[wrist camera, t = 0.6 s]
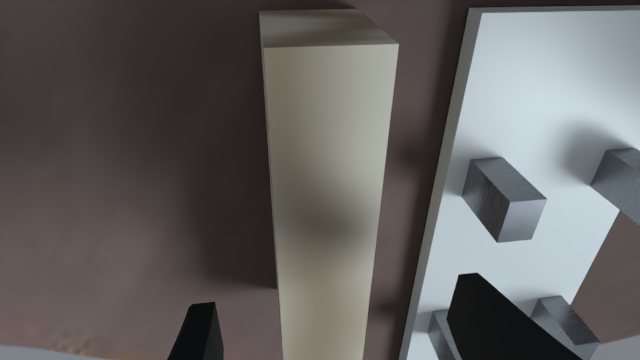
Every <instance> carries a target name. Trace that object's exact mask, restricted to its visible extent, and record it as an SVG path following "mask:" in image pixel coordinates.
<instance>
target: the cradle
mask: <svg viewBox="0 0 640 360" xmlns="http://www.w3.org/2000/svg"><path fill="white" fill-rule="evenodd" d="M619 210H621V211H622V212H623V213H624V214H626V215H627V216H628V217H629V218H631V219H632V220H633V221H635V222H636V223H637V224H638V225H640V5H614V6H549V7H484V8H469V12H468V17H467V22H466V27H465V32H464V37H463V42H462V47H461V51H460V56H459V61H458V66H457V71H456V76H455V81H454V86H453V91H452V96H451V101H450V106H449V111H448V116H447V121H446V126H445V131H444V136H443V141H442V146H441V151H440V156H439V161H438V166H437V171H436V176H435V181H434V186H433V191H432V196H431V201H430V206H429V211H428V216H427V221H426V226H425V231H424V236H423V241H422V246H421V251H420V256H419V261H418V266H417V271H416V276H415V281H414V286H413V291H412V296H411V301H410V306H409V311H408V316H407V321H406V326H405V331H404V336H403V341H402V346H401V351H400V356H399V360H462V359H461V357H460V355H459V353H458V350H457V348H456V345H455V342H454V340H453V337H452V334H451V331H450V328H449V326H448V323H447V320H446V318H447V314H448V311H449V307H450V303H451V300H452V296H453V293H454V289H455V286H456V282H457V279H458V275H459V274H468V273H477V272H478V273H479V274H480V275H481V276H482V277H484V278H485V279H486V280H487V281H488V282H489V283H490V284H492V285H493V286H494V287H495V288H496V289H497V290H498V291H500V292H501V293H502V294H503V295H504V296H505V297H506V298H508V299H509V300H510V301H511V302H512V303H513V304H514V305H516V306H517V307H518V308H519V309H520V310H521V311H523V312H524V313H525V314H526V315H527V316H528V317H530V318H531V319H532V320H533V321H534V322H536V323H537V324H538V325H539V326H540V327H542V328H543V329H544V330H545V331H546V332H548V333H549V334H550V335H551V336H553V337H554V338H555V339H556V340H558V341H559V342H560V343H562V344H563V345H564V346H566V347H567V348H568V349H569V350H571V351H572V352H573V353H575V354H576V355H577V356H579V357H580V358H581V359H583V360H589V359H590V358H591V356H592V354H593V353H594V352H595V350H596V348H597V347H598V345H599V344H600V341H599V340H598V339H597V337H596V336H595V335H594V334H593V333H592V331H591V330H590V329H589V328H588V327H587V325H586V324H585V323H584V322H583V321H582V319H581V318H580V317H579V316H578V315H577V313H576V312H575V311H574V310H573V309H572V307H571V306H570V304H571V302H572V300H573V298H574V296H575V294H576V293H577V291H578V289H579V287H580V285H581V283H582V281H583V279H584V277H585V275H586V273H587V272H588V270H589V268H590V266H591V264H592V262H593V260H594V258H595V256H596V254H597V252H598V251H599V249H600V247H601V245H602V243H603V241H604V239H605V237H606V235H607V233H608V231H609V230H610V228H611V226H612V224H613V222H614V220H615V218H616V216H617V214H618V212H619Z"/></svg>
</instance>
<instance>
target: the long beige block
mask: <svg viewBox="0 0 640 360" xmlns="http://www.w3.org/2000/svg"><path fill="white" fill-rule="evenodd" d="M259 22H260V37H261V52H262V67H263V82H264V97H265V112H266V126H267V141H268V156H269V171H270V186H271V201H272V216H273V231H274V246H275V260H276V275H277V290H278V302H279V315H280V327H281V339H282V351H283V360H362V359H363V351H364V342H365V333H366V325H367V316H368V307H369V299H370V290H371V281H372V273H373V264H374V255H375V247H376V238H377V229H378V221H379V212H380V203H381V195H382V186H383V177H384V169H385V160H386V152H387V143H388V134H389V126H390V117H391V108H392V100H393V91H394V82H395V74H396V65H397V56H398V48H399V44H398V43H397V42H396V41H395V40H394V39H392V38H391V37H390V36H389V35H388V34H386V33H385V32H384V31H383V30H382V29H380V28H379V27H378V26H377V25H376V24H374V23H373V22H372V21H371V20H370V19H369V18H367V17H366V16H365V15H364V14H363V13H361V12H360V11H359V10H358V9H324V10H267V11H259Z"/></svg>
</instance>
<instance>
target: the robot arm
mask: <svg viewBox="0 0 640 360" xmlns="http://www.w3.org/2000/svg"><path fill="white" fill-rule="evenodd" d="M446 320H447V323H448V326H449V328H450V331H451V334H452V337H453V340H454V342H455V345H456V348H457V350H458V353H459V355H460V357H461V359H462V360H583V359H581V358H580V357H579V356H577V355H576V354H575V353H573V352H572V351H571V350H569V349H568V348H567V347H566V346H564V345H563V344H562V343H560V342H559V341H558V340H556V339H555V338H554V337H553V336H551V335H550V334H549V333H548V332H546V331H545V330H544V329H543V328H542V327H540V326H539V325H538V324H537V323H536V322H534V321H533V320H532V319H531V318H530V317H528V316H527V315H526V314H525V313H524V312H523V311H521V310H520V309H519V308H518V307H517V306H516V305H514V304H513V303H512V302H511V301H510V300H509V299H508V298H506V297H505V296H504V295H503V294H502V293H501V292H500V291H498V290H497V289H496V288H495V287H494V286H493V285H492V284H490V283H489V282H488V281H487V280H486V279H485V278H484V277H482V276H481V275H480V274H479V273H478V272H477V273H468V274H459V275H458V279H457V282H456V286H455V289H454V293H453V296H452V300H451V303H450V307H449V311H448V314H447V318H446ZM223 353H224V347H223V342H222V337H221V331H220V326H219V321H218V316H217V310H216V305H215V302H209V303H200V304H192V305H191V306H190V307H189V308H188V311H187V314H186V317H185V320H184V322H183V325H182V327H181V330H180V332H179V335H178V337H177V339H176V342H175V344H174V346H173V348H172V350H171V353H170V355H169V357H168V359H167V360H223Z"/></svg>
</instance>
